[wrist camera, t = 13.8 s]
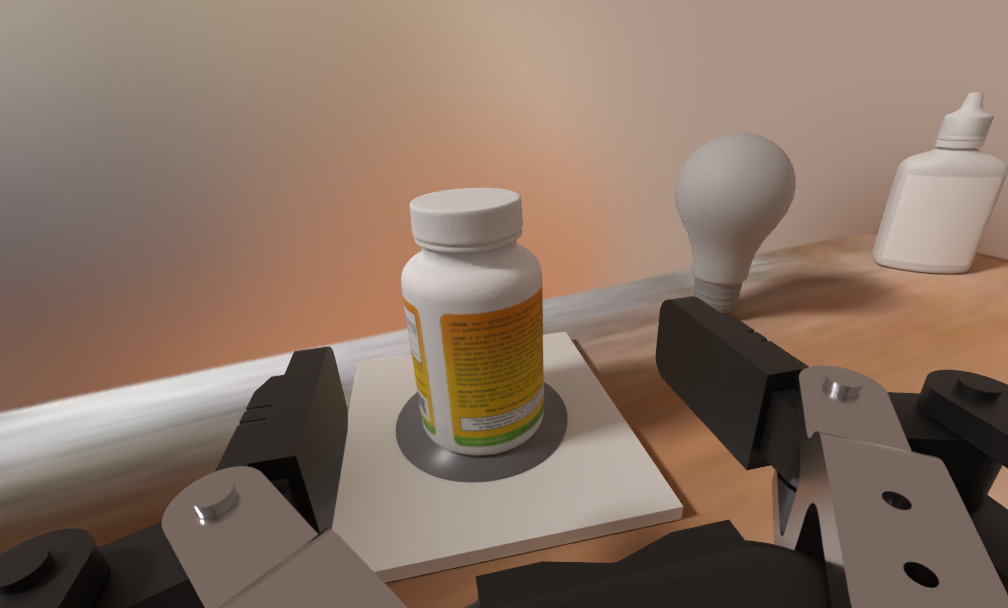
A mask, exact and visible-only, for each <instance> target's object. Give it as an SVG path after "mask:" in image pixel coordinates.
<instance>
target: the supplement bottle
mask: <svg viewBox="0 0 1008 608" xmlns="http://www.w3.org/2000/svg"><path fill="white" fill-rule="evenodd" d="M410 214H411V224H412V234H413V236H414V237H415V238H414V239H415V242H416V243H417V244H418V245H420V246H421V247H422V251H421V252H419V253H417V254H416V255H415V256H413V257H412V258H411V259H410V260H409V261H408V263H407V264H406V266H405V267H404V269H403V272H402V277H401V284H402V295H403V302H404V308H405V315H406V321H407V327H408V334H409V341H410V348H411V354H412V360H413V367H414V373H415V379H416V386H417V393H418V399H419V406H420V412H421V417H422V422H423V426H424V428H425V431H426V433H427V434H428V436H429V437H430V438H431V439H432V440H433V441H434V442H435V443H436V444H437V445H439V446H440V447H442V448H444V449H446V450H449V451H451V452H455V453H459V454H465V455H477V456H479V455H491V454H497V453H501V452H505V451H508V450H511V449H513V448H515V447H518V446H519V445H521V444H523V443H524V442H525V441H527V440H528V439H529V438H530V437H531V436H532V435H533V434H534V433H535V432H536V431H537V429H538V428H539V426H540V424H541V422H542V419H543V414H544V366H543V306H542V273H541V268H540V264H539V262H538V260H537V258H536V257H535V256H534V255H533V253H531V252H530V251H529V250H528V249H526V248H524V247H523V246H521V245H518V244H517V243H516V240H517V239H518V238H519V237H520V236H521V234H522V226H523V221H522V208H521V197H520V195H519V194H518V193H516V192H513V191H510V190H505V189H497V188H465V189H452V190H445V191H439V192H433V193H429V194H425V195H422V196H419V197H417V198H415V199H414V200H412V201H411V203H410Z"/></svg>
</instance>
